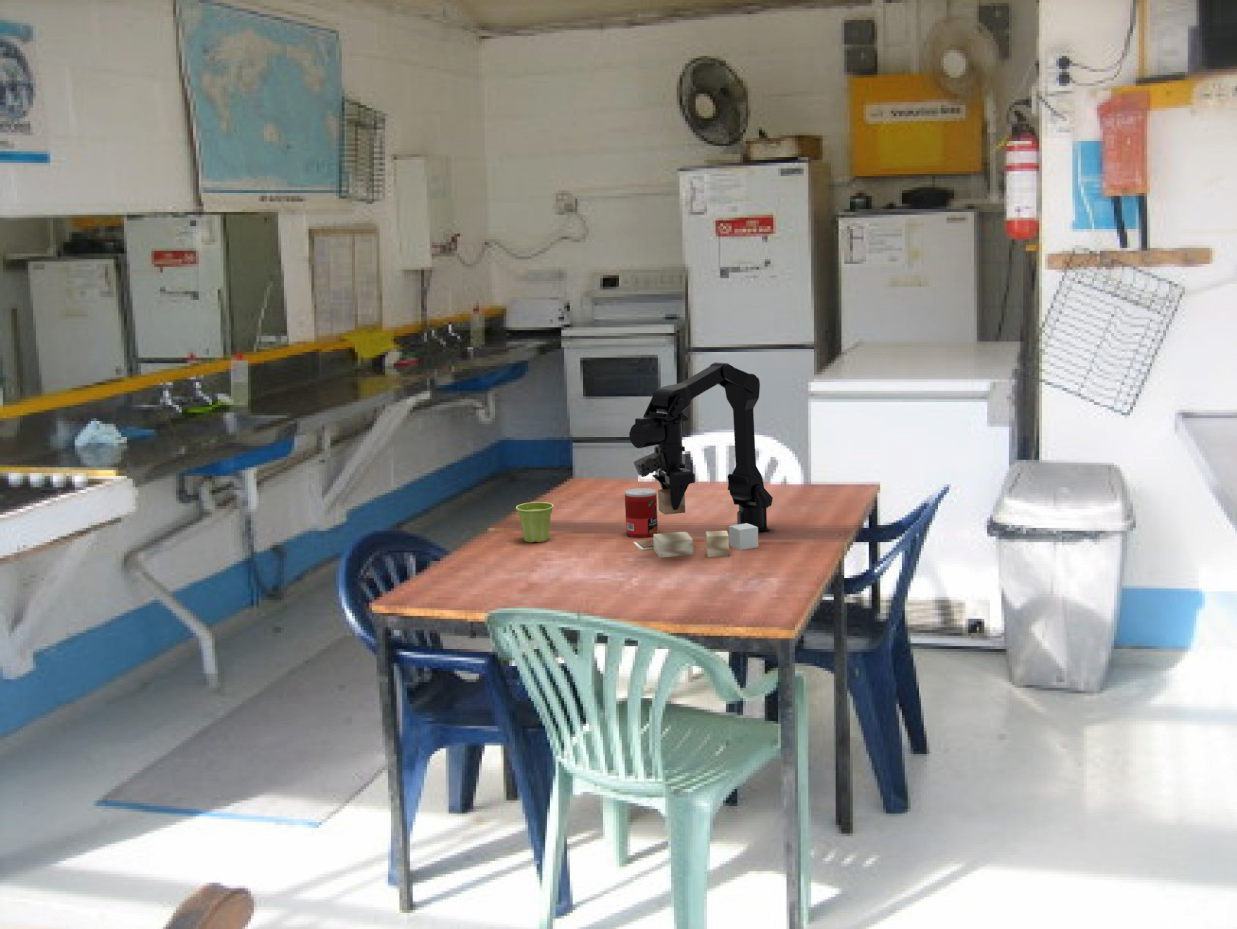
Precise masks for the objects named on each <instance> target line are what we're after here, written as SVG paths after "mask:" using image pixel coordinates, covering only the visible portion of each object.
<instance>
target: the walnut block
mask: <svg viewBox="0 0 1237 929" xmlns="http://www.w3.org/2000/svg"><path fill="white" fill-rule="evenodd" d="M685 495H686V494H684V496H683V498H682V501H681V503H680V505H679V508H678V509H677V510H673V507H672V502H671V497H670V491H669V489H662V488H661V489H657V497H658V498H657V504H658V511H659V512H660V513H662V514H663V515H666V516H667V515H674V514H675V515H676V514H685V513H686V496H685Z"/></svg>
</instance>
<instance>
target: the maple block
mask: <svg viewBox="0 0 1237 929" xmlns="http://www.w3.org/2000/svg"><path fill="white" fill-rule="evenodd" d="M705 550H706V552H705V553H706V556H707V558H718V557H721V558H723V557H730V544H729V531H728V530H712V531H706V530H705Z"/></svg>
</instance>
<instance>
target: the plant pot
mask: <svg viewBox="0 0 1237 929" xmlns="http://www.w3.org/2000/svg"><path fill="white" fill-rule="evenodd" d="M554 507H555V506H554V504H553V503H550V502H545V501H544V502H543V501H534V502H525V503H521V504H518V505H516V507H515V510H516V511H517V513H518V516H519V519H520V523H521V524H520V526H521V530H522V536H523V540H524V541H525V542H527V543H534V542H537V543H543V542H546V541H548V540H549V538H550V525H551V524H550V523H551V514H552V512H553V508H554Z"/></svg>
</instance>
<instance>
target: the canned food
mask: <svg viewBox="0 0 1237 929" xmlns="http://www.w3.org/2000/svg"><path fill="white" fill-rule="evenodd" d="M657 497H658V493H657V491H656V490H655V488H654V489H652V488H648V487H647V488H646V487H643V488H641V487H639V488H632V489H631V488H630V489H627V490H625V492H624V508H625V510H624V512H625V530H626V534H627V536H629V537H633V538H650V537H653V534H658V530H659V529H658V524H659V523H658V498H657Z"/></svg>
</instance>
